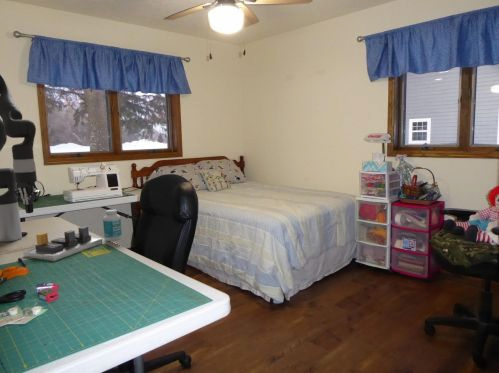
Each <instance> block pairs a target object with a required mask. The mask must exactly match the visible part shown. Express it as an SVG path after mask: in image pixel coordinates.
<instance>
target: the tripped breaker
mask: <svg viewBox="0 0 499 373" xmlns="http://www.w3.org/2000/svg"><path fill="white" fill-rule="evenodd" d="M35 236H36V237H35V238H36V245H43V244H46V243H49V238H48V232H40V233H38V234H35Z"/></svg>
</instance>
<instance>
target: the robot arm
mask: <svg viewBox="0 0 499 373" xmlns="http://www.w3.org/2000/svg"><path fill="white" fill-rule="evenodd" d="M36 131H37V128H36V125H35V122H34V121H32V120H30V119H23V114H22V112H21V110H20V109H19V107H18V106H17V104H16V103H15V101H14V99H13V96H12V94H11V91H10V89H9V87H8V84H7V81H6V78H5V77H4V76H3V75H2V74H1V73H0V152H1V151H2V149H3V148H4V147H5V145H6V143H7V140H8V138H12V139H18V138H19V139H22V138H24V139H23V141H22V142H20V143H16V144H13V145H12V146H11V154H12V168H11V167H5V168H3V167H2V168H0V190H1V189H8V190H7V191H6V192H4V193H3V194H0V242H1V243H5V242H13V241H18V240H21V239H22V238H23V234H22V233H23V232H22V227H21V225H22V224H21V216H20V210H19V209H20V208H19V202H20V203H22V204H24V209H25V210H24V211H25V214H33V213H34V203H37V202H38V200H39V197H40V195H41V193H42V191H41V190H38V189H37V186H36V182H37V181H38V177H37V168H36V167H37V166H36V163H35V158H34V156H35V155H34V142H35V138H36ZM18 200H19V201H18Z"/></svg>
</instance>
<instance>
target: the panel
mask: <svg viewBox="0 0 499 373" xmlns="http://www.w3.org/2000/svg"><path fill="white" fill-rule="evenodd" d="M63 235H64V237H58V238H55V239H52V240H50V242H48V243H46V244H43V245H39V244H36V245H35V247H32V248H30V249H27V250H23V257H24V258H31V259H38V260H44V261H50V262H56V261H59V260H61V259H64V258H66V257H70V256H73V255H74V254H75V255H76V254H78V253H81V252H83V251H85V250H88V249H90V248H94V247H96V246H99V245H101V243H102V244H103V243H104V242H103V238H98V237H93V236H92V235H91V234H89V226H81V227H78V233H76V231H75V230H67V231H64V234H63Z"/></svg>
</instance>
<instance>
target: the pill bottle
mask: <svg viewBox="0 0 499 373" xmlns="http://www.w3.org/2000/svg"><path fill="white" fill-rule="evenodd" d="M121 219H122V218H121V216H120V214H118V210H117V209H107V210H105V215H104V216H103V218H102V223H103V224H102V225H103V235H104V236H103V237H104V240H105V241H106V242H116V241H117V242H118V241H120V240H121V239H122V237H123V235H122V234H123V231H122V220H121Z"/></svg>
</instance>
